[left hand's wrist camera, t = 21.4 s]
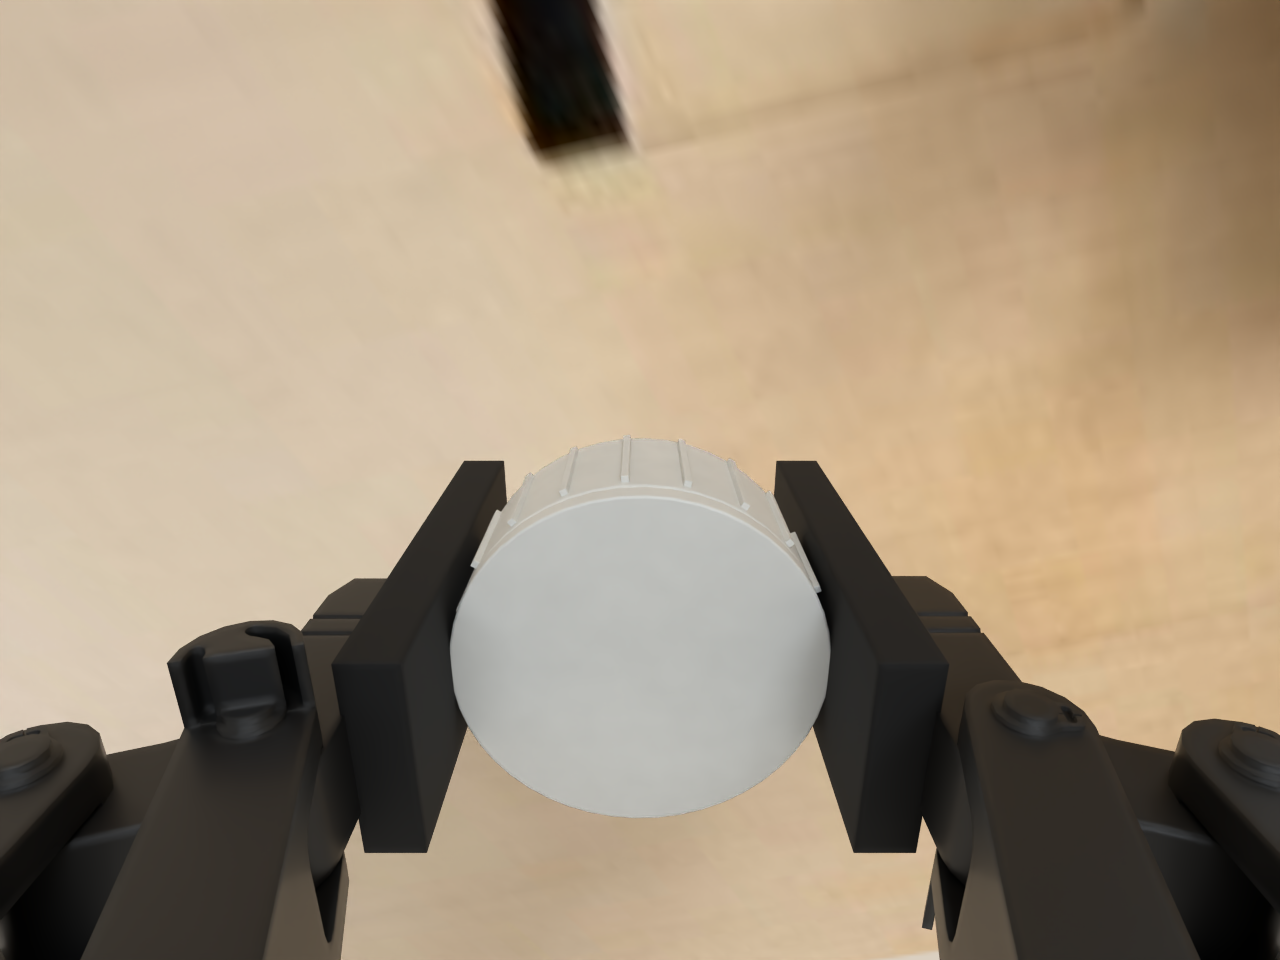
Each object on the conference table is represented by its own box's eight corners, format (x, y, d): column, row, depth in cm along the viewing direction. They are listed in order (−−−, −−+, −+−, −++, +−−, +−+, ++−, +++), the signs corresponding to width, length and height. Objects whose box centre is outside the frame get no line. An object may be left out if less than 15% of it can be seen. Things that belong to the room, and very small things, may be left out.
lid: (436, 474, 12) (388, 542, 9) (770, 398, 11) (804, 450, 9) (531, 740, 14) (510, 849, 11) (822, 684, 13) (859, 786, 11)
